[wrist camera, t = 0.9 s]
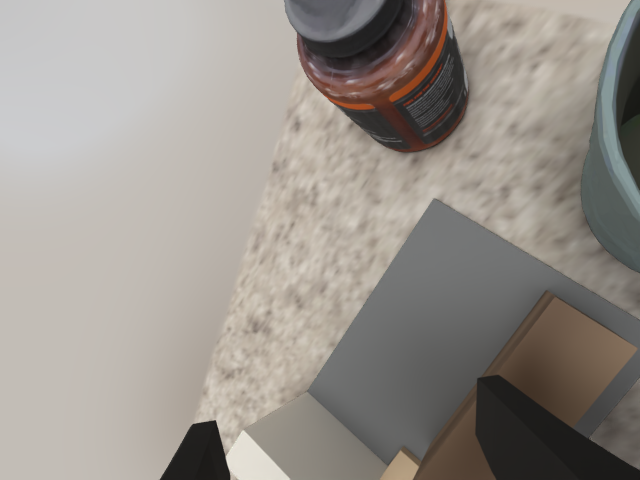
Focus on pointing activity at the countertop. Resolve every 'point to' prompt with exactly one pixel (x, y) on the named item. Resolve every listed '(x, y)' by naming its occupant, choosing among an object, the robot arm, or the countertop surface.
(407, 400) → the mat
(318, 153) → the countertop surface
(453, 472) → the brown rectangular block
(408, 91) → the supplement bottle
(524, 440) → the robot arm
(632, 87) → the teal textured planter
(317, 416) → the tile
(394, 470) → the trivet
